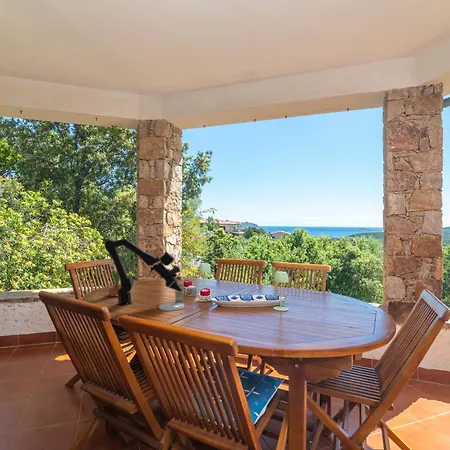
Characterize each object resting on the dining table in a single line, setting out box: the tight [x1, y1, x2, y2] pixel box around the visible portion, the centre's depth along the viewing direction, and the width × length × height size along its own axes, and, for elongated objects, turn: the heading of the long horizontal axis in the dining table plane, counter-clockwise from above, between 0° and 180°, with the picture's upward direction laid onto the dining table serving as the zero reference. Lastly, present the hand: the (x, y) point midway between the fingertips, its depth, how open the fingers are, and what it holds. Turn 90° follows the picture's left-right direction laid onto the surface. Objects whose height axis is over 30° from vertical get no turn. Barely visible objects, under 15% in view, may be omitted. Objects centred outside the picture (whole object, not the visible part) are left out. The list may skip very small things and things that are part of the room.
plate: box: [158, 301, 185, 312], centre depth 189 cm, size 14×14×1 cm
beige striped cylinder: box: [174, 275, 185, 304], centre depth 201 cm, size 5×5×16 cm
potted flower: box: [107, 258, 121, 297], centre depth 222 cm, size 12×10×25 cm
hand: (181, 289), depth 201 cm, fingers open, 9 cm apart
